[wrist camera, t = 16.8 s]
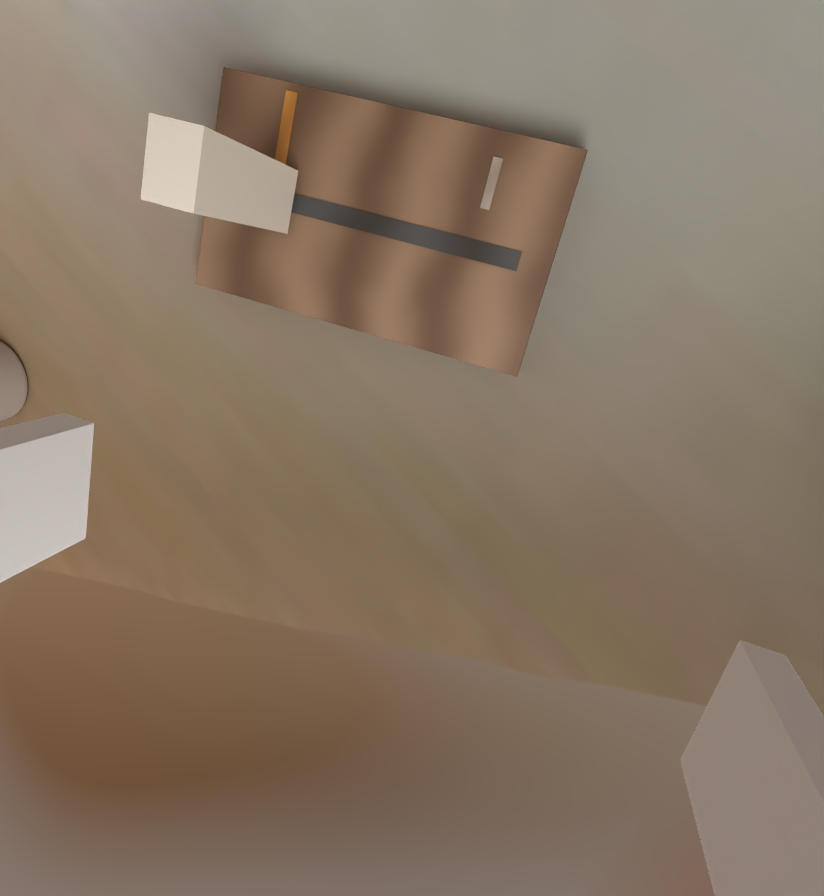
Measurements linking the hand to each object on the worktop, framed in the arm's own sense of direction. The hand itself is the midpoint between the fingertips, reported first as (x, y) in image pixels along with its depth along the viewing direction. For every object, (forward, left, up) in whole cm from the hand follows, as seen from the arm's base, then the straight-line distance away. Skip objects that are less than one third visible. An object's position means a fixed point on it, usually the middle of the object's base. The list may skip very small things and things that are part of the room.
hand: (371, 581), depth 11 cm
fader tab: (+18, -7, -29) cm, 35 cm away
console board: (+11, -7, -31) cm, 34 cm away
